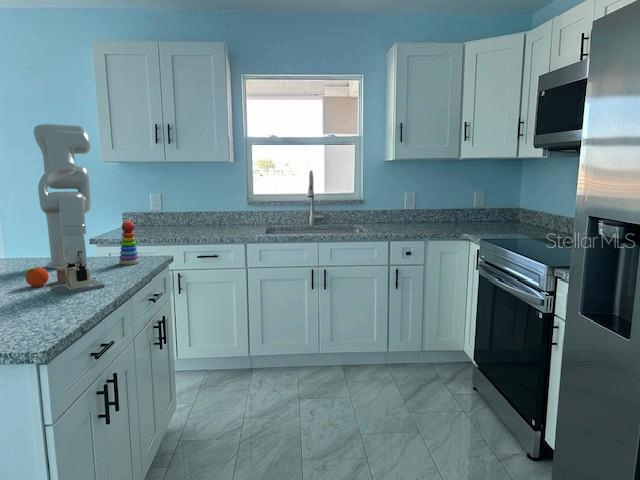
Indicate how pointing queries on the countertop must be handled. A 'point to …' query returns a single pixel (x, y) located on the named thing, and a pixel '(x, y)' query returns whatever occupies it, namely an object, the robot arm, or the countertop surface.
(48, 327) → the countertop surface
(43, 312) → the countertop surface
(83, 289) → the board
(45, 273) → the clementine
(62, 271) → the walnut cube
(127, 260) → the stacking toy
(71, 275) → the maple cube
